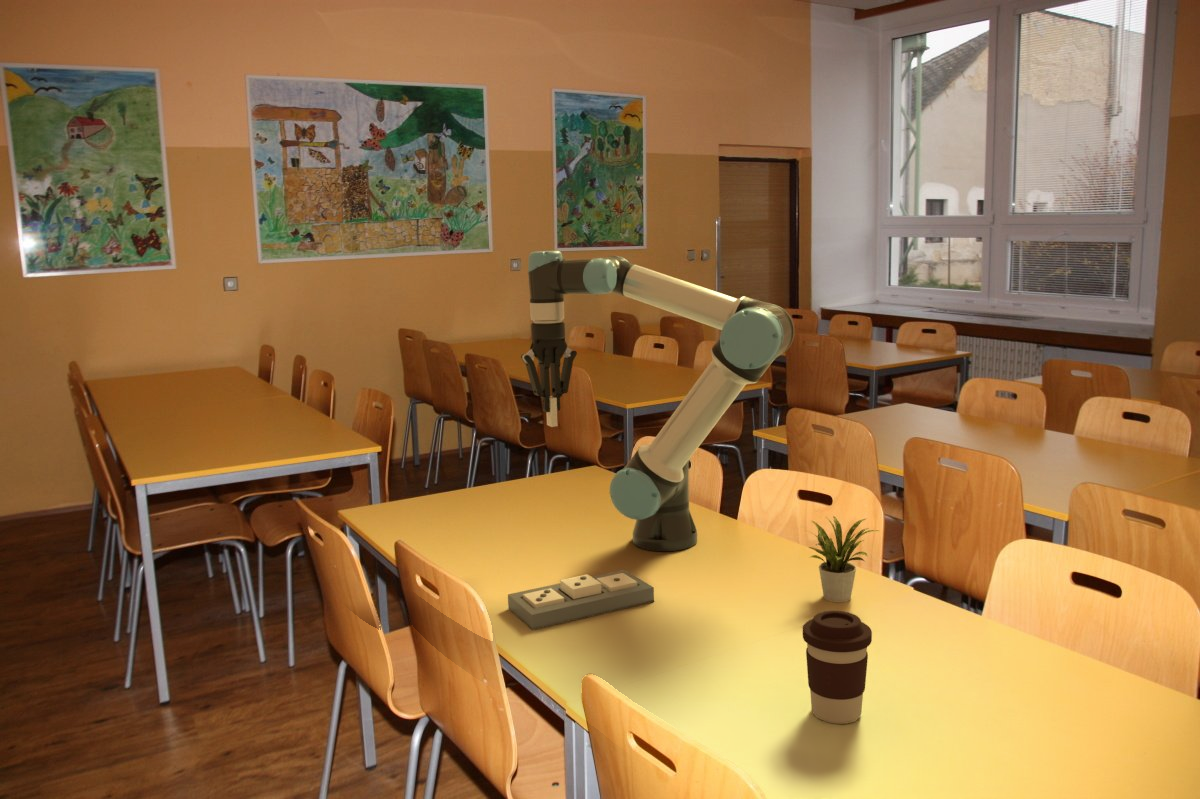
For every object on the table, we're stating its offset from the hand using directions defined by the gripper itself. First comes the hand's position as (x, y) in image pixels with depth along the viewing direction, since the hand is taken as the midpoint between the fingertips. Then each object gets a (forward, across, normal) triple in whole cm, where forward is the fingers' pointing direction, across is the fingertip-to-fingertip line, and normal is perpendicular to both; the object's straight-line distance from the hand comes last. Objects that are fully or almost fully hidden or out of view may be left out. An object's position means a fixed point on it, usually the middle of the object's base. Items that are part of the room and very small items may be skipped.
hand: (552, 425), depth 220 cm
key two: (+27, +10, +33) cm, 43 cm away
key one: (+28, +2, +33) cm, 43 cm away
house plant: (+30, -36, +57) cm, 73 cm away
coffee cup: (+30, -4, +92) cm, 96 cm away
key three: (+28, +18, +33) cm, 47 cm away
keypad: (+29, +10, +33) cm, 45 cm away
